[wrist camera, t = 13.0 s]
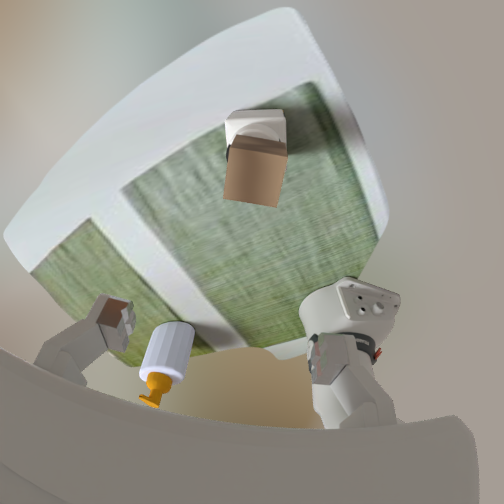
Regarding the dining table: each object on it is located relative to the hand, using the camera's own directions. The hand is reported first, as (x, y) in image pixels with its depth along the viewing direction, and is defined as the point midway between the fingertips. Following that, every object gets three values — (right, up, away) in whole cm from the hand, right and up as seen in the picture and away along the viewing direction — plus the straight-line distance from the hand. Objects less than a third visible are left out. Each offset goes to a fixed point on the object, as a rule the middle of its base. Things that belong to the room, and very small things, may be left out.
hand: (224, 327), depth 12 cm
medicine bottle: (+2, +20, +27) cm, 33 cm away
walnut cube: (+2, +13, +17) cm, 21 cm away
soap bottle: (-18, -16, +55) cm, 61 cm away
